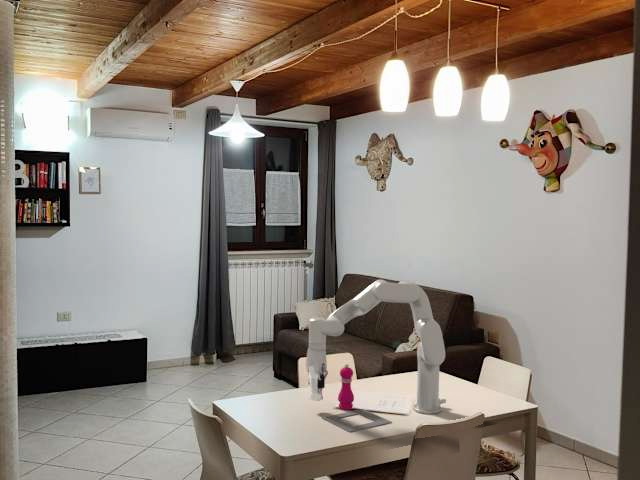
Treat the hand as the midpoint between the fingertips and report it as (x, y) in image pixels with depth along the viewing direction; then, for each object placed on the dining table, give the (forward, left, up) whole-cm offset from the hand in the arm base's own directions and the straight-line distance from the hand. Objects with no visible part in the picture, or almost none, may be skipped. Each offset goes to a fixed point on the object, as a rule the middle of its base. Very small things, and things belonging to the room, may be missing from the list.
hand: (316, 385), depth 283 cm
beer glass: (0, 0, -6) cm, 6 cm away
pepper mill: (-14, +3, -11) cm, 18 cm away
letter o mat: (-8, +19, -11) cm, 23 cm away
